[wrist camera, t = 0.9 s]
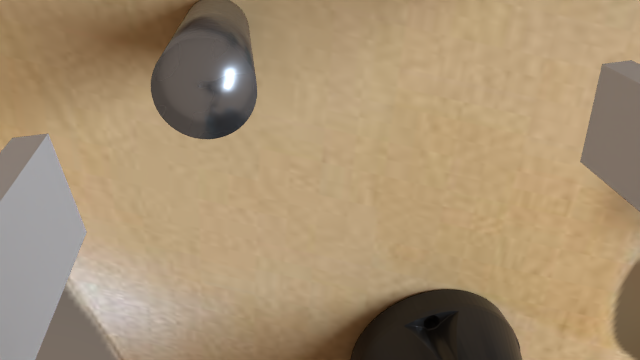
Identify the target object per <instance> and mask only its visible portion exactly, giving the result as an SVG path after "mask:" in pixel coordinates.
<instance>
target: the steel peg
mask: <svg viewBox="0 0 640 360" xmlns="http://www.w3.org/2000/svg"><path fill="white" fill-rule="evenodd" d="M151 93H152V98H153V101H154V104H155V106H156V108H157V110H158V112H159V114H160V115H161V116H162V118H163V119H164V120H165V121H166V122H167V123H168V124H169V125H170V126H171V127H173V128H174V129H175V130H177V131H179V132H180V133H182V134H185V135H187V136H190V137H194V138H199V139H215V138H220V137H223V136H226V135H229V134H231V133H233V132H234V131H236V130H237V129H239V128H240V127H241V126H242V125H243V124H244V123H245V122H246V121H247V120H248V118H249V117H250V115H251V113H252V111H253V109H254V106H255V103H256V98H257V83H256V76H255V69H254V61H253V54H252V47H251V39H250V32H249V25H248V21H247V18H246V16H245V14H244V13H243V11H242V10H241V9H240V8H239V7H238V6H237V5H236V4H235V3H233V2H232V1H230V0H200V1H198V2H197V3H195V4H194V5H193V6H192V7H191V9H190V10H189V12H188V13H187V15H186V16H185V18H184V20H183V21H182V23H181V24H180V26H179V28H178V29H177V31H176V33H175V34H174V36H173V37H172V39H171V41H170V42H169V44H168V45H167V47H166V49H165V50H164V52H163V53H162V55H161V57H160V58H159V60H158V62H157V63H156V65H155V68H154V70H153V74H152V78H151Z"/></svg>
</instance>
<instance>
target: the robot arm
mask: <svg viewBox="0 0 640 360" xmlns="http://www.w3.org/2000/svg"><path fill="white" fill-rule="evenodd" d="M580 162H581V163H582V164H584V165H585V166H586V167H587V168H588V169H590V170H591V171H592V172H593V173H594V174H596V175H597V176H598V177H599V178H600V179H602V180H603V181H604V182H605V183H606V184H608V185H609V186H610V187H611V188H612V189H614V190H615V191H616V192H617V193H618V194H619V195H621V196H622V197H623V198H624V199H625V200H627V201H628V202H629V203H630V204H631V205H633V206H634V207H635V208H636V209H637V210H639V211H640V64H638V63H636V62H634V61H632V60H630V61H623V62H615V63H607V64H602V67H601V72H600V76H599V81H598V85H597V90H596V94H595V99H594V103H593V108H592V112H591V116H590V121H589V125H588V130H587V134H586V139H585V143H584V148H583V152H582V157H581V161H580ZM86 233H87V232H86V229H85V226H84V224H83V221H82V219H81V216H80V214H79V211H78V209H77V206H76V203H75V201H74V198H73V196H72V193H71V191H70V188H69V186H68V183H67V180H66V178H65V175H64V173H63V170H62V168H61V165H60V163H59V160H58V157H57V155H56V152H55V150H54V147H53V145H52V142H51V140H50V137H49V134H40V135H32V136H24V137H16V138H12V139H11V140H10V141H9V143H8V144H7V145H6V146H5V148H4V149H3V150H2V151H1V152H0V360H35V359H36V356H37V354H38V351H39V349H40V346H41V344H42V341H43V339H44V337H45V334H46V331H47V329H48V327H49V324H50V322H51V319H52V317H53V314H54V312H55V309H56V307H57V304H58V302H59V299H60V297H61V294H62V292H63V289H64V287H65V285H66V282H67V280H68V277H69V275H70V272H71V270H72V267H73V265H74V262H75V260H76V257H77V255H78V252H79V250H80V247H81V245H82V242H83V240H84V237H85V235H86ZM351 360H522V356H521V353H520V346H519V342H518V339H517V337H516V335H515V333H514V331H513V329H512V327H511V326H510V324H509V323H508V322H507V320H506V319H505V317H504V316H503V314H502V313H501V312H500V310H499V309H498V308H497V307H496V306H495V305H494V304H492V303H491V302H490V301H488V300H487V299H485V298H483V297H481V296H479V295H476V294H473V293H470V292H465V291H459V290H438V291H431V292H426V293H422V294H418V295H415V296H412V297H409V298H407V299H405V300H402V301H400V302H398V303H397V304H395V305H393V306H391V307H390V308H388V309H387V310H385V311H384V312H382V313H381V314H380V315H379V316H377V317H376V318H375V319H374V320H373V321H372V322H371V323H370V324H369V325H368V326H367V328H366V329H365V330H364V331H363V333H362V334H361V336H360V337H359V339H358V341H357V343H356V345H355V347H354V350H353V353H352V357H351Z"/></svg>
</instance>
